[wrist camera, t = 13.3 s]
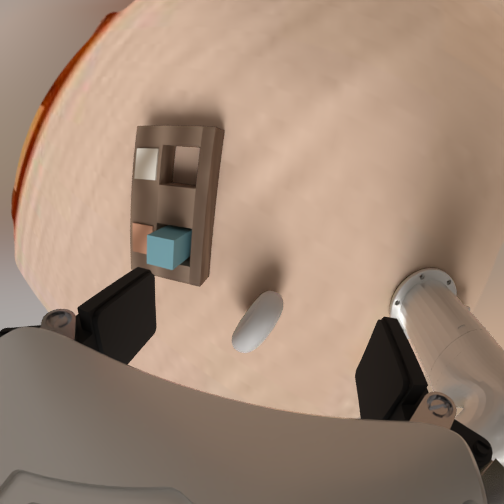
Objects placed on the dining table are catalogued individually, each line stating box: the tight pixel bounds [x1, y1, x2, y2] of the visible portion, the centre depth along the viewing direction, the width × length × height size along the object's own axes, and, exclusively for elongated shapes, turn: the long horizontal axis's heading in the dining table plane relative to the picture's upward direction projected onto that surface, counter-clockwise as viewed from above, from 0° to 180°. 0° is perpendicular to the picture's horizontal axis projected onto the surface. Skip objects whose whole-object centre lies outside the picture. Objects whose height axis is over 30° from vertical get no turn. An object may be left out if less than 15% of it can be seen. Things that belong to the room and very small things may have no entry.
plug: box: [147, 225, 192, 270], centre depth 37 cm, size 4×4×8 cm
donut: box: [232, 291, 283, 353], centre depth 37 cm, size 10×4×10 cm, turn 147°
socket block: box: [130, 126, 224, 287], centre depth 38 cm, size 12×22×4 cm, turn 173°
